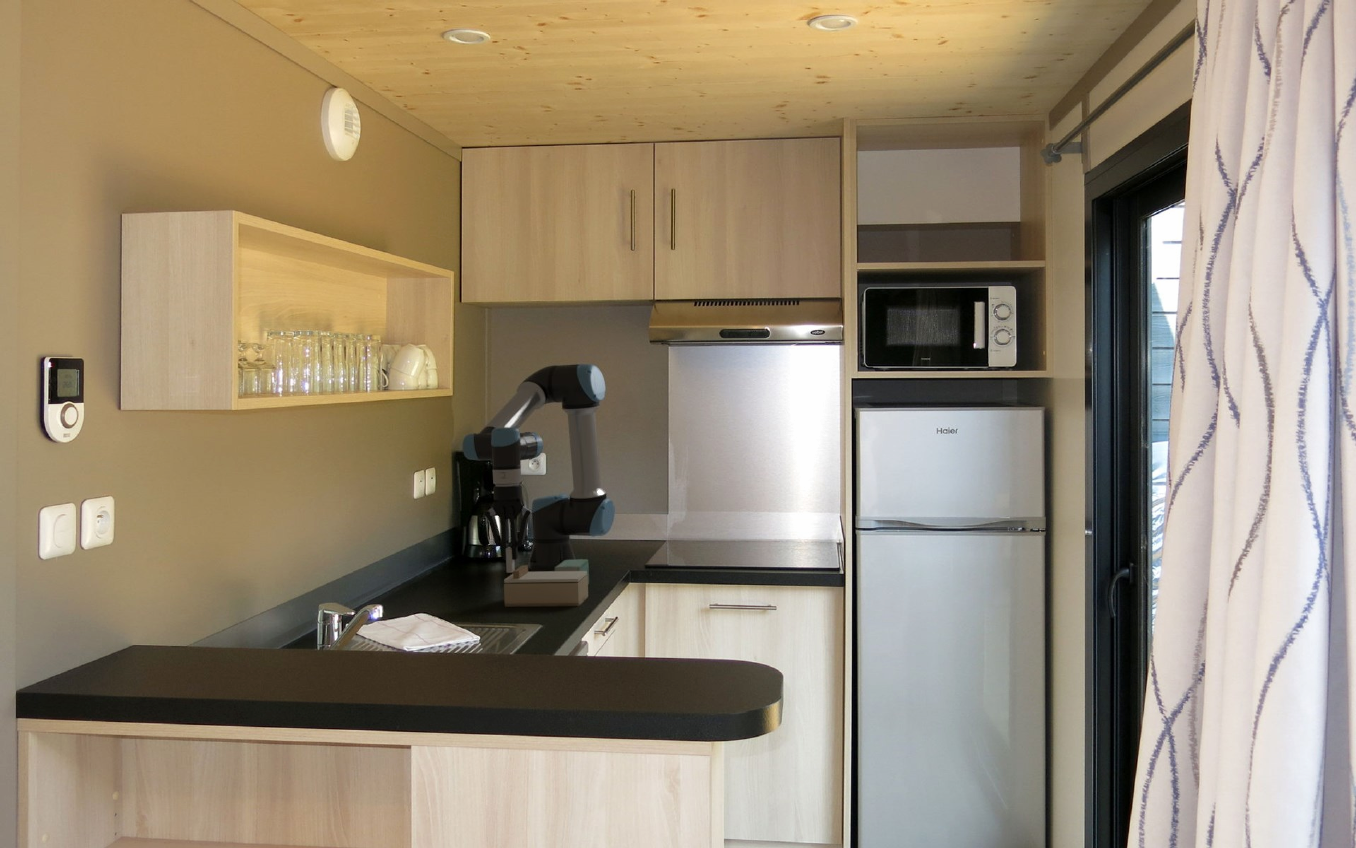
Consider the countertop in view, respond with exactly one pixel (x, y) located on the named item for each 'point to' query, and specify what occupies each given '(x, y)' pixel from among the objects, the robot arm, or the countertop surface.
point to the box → (574, 566)
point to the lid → (544, 576)
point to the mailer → (546, 593)
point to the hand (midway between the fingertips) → (510, 571)
